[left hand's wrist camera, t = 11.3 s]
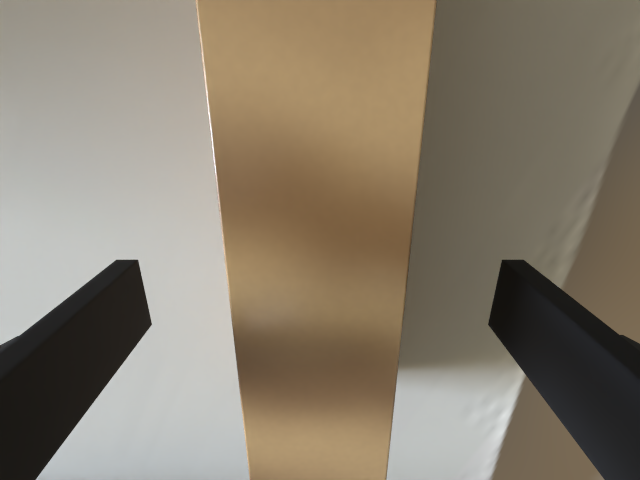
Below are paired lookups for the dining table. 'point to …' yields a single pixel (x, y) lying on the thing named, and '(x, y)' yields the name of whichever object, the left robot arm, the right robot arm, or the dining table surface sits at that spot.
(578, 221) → the dining table surface
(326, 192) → the bar
